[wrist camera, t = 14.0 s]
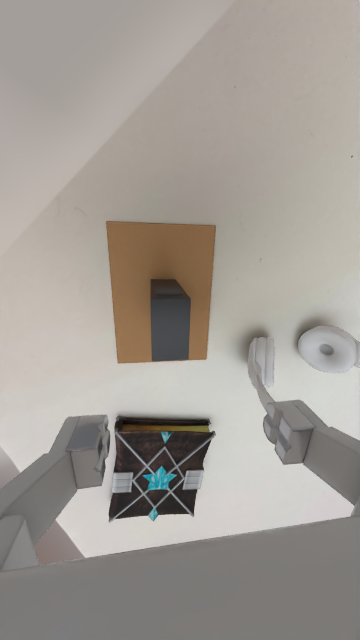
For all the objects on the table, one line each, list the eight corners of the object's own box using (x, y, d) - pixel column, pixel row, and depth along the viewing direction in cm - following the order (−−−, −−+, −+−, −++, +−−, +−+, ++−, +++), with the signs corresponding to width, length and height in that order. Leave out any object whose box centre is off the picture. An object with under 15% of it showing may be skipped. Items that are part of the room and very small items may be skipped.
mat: (106, 221, 27) (106, 221, 26) (214, 226, 28) (215, 225, 28) (118, 362, 33) (117, 363, 33) (205, 358, 35) (206, 359, 34)
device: (150, 278, 29) (150, 297, 18) (175, 278, 30) (191, 296, 18) (151, 320, 31) (151, 361, 20) (175, 319, 32) (188, 359, 20)
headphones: (227, 334, 34) (322, 441, 15) (333, 315, 35) (539, 392, 17) (230, 372, 36) (313, 504, 18) (329, 353, 38) (504, 457, 19)
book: (116, 414, 36) (111, 439, 32) (211, 417, 39) (219, 440, 34) (110, 501, 43) (105, 532, 38) (191, 498, 46) (196, 526, 41)
